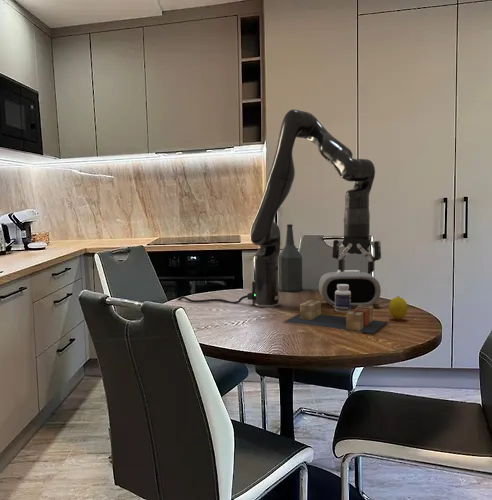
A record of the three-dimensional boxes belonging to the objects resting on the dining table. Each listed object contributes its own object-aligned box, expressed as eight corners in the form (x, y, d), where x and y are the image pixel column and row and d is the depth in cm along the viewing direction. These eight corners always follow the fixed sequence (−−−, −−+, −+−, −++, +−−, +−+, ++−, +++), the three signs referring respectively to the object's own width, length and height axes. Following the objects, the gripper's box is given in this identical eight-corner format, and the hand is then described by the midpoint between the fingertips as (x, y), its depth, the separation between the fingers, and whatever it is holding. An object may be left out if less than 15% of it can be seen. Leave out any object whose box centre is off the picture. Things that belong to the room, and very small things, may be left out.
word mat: (284, 322, 164) (284, 321, 164) (302, 313, 176) (302, 312, 176) (373, 334, 146) (373, 333, 146) (386, 323, 158) (386, 321, 158)
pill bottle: (352, 313, 174) (352, 286, 173) (336, 312, 175) (336, 286, 174) (349, 309, 179) (349, 283, 178) (333, 309, 180) (333, 283, 179)
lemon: (405, 318, 163) (406, 294, 163) (408, 322, 158) (409, 298, 157) (387, 317, 165) (387, 294, 164) (389, 321, 160) (390, 297, 159)
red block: (352, 325, 156) (352, 309, 155) (355, 322, 159) (355, 307, 158) (365, 327, 153) (365, 311, 153) (368, 324, 156) (368, 308, 156)
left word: (299, 318, 167) (299, 304, 166) (309, 313, 174) (309, 299, 173) (311, 320, 164) (311, 305, 164) (321, 315, 171) (320, 300, 171)
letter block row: (346, 329, 152) (346, 313, 151) (360, 319, 163) (360, 304, 163) (359, 331, 149) (359, 314, 149) (373, 320, 161) (373, 305, 160)
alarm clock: (321, 308, 183) (321, 273, 182) (318, 302, 192) (318, 269, 191) (381, 308, 178) (381, 272, 177) (375, 303, 187) (375, 268, 186)
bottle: (280, 292, 217) (279, 225, 214) (277, 288, 227) (276, 224, 224) (304, 292, 215) (303, 224, 212) (300, 288, 225) (299, 223, 222)
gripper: (384, 221, 153) (382, 272, 155) (337, 221, 163) (337, 269, 164) (377, 223, 148) (376, 275, 149) (329, 222, 157) (329, 272, 159)
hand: (355, 272), depth 157 cm, fingers open, 8 cm apart
